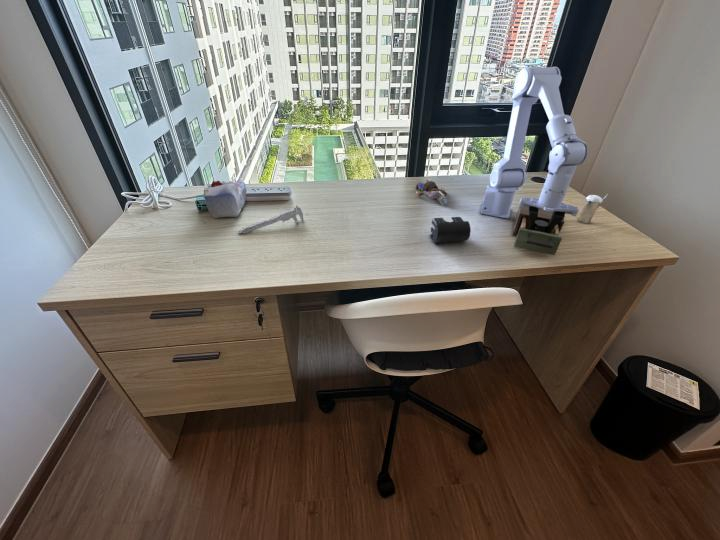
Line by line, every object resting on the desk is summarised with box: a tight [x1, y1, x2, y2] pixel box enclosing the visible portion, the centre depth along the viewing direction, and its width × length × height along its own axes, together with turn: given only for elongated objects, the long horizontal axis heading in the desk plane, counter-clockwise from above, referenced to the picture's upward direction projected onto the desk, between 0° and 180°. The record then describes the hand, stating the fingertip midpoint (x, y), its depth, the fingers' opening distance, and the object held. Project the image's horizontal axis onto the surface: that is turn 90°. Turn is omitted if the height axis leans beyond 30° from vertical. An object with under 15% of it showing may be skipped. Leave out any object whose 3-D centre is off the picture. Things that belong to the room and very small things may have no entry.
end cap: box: [429, 216, 471, 244], centre depth 99 cm, size 10×7×7 cm
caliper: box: [238, 204, 304, 234], centre depth 104 cm, size 20×1×6 cm, turn 113°
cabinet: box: [512, 205, 565, 237], centre depth 104 cm, size 13×12×8 cm
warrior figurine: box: [415, 179, 448, 205], centre depth 125 cm, size 12×5×18 cm
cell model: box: [203, 180, 247, 219], centre depth 113 cm, size 13×11×20 cm
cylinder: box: [532, 220, 549, 233], centre depth 96 cm, size 4×4×4 cm
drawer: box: [513, 217, 563, 256], centre depth 96 cm, size 16×11×6 cm
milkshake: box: [578, 193, 608, 224], centre depth 109 cm, size 5×5×10 cm
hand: (538, 232), depth 97 cm, fingers closed on cylinder, 4 cm apart
